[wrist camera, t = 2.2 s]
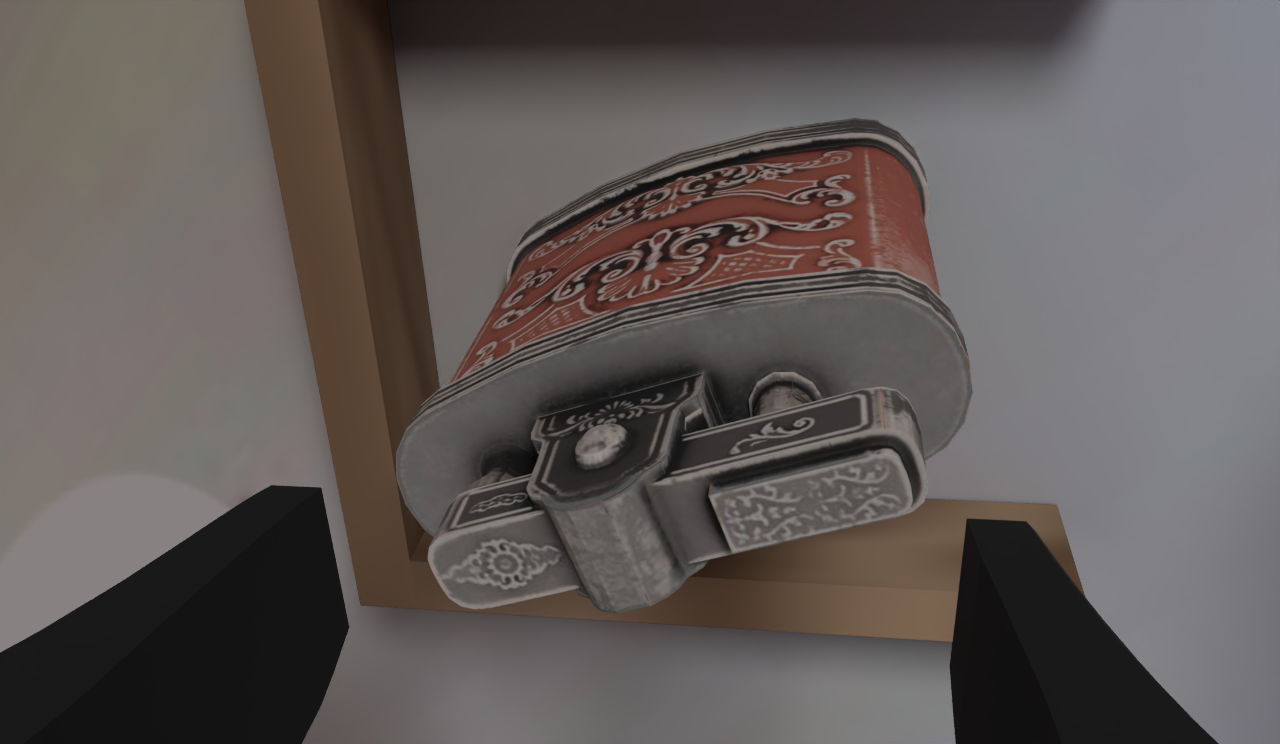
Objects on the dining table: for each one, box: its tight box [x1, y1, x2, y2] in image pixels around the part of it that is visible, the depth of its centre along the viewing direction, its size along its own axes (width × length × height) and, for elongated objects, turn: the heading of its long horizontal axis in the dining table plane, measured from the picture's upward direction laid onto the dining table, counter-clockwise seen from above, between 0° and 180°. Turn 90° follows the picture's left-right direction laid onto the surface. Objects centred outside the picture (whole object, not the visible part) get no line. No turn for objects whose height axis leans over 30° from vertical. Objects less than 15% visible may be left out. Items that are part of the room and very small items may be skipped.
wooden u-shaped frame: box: [244, 0, 1085, 642], centre depth 21 cm, size 14×14×3 cm
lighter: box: [396, 118, 972, 613], centre depth 18 cm, size 8×3×10 cm, turn 111°
